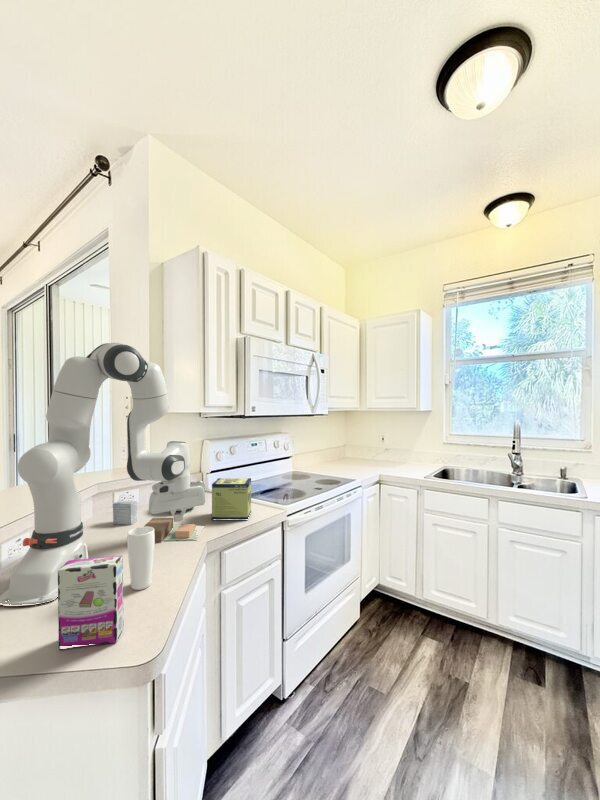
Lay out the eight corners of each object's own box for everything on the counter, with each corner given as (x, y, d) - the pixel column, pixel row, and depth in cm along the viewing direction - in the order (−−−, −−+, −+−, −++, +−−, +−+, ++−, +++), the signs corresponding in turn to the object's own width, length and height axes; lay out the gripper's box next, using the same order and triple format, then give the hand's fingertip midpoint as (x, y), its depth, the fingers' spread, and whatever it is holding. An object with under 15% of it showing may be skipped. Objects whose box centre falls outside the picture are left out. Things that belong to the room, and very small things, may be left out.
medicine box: (137, 521, 145) (137, 500, 145) (131, 525, 141) (131, 503, 141) (119, 520, 146) (119, 500, 146) (112, 524, 141) (112, 503, 141)
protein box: (248, 520, 145) (248, 483, 145) (211, 520, 145) (211, 483, 145) (251, 512, 156) (251, 477, 156) (217, 512, 156) (217, 477, 156)
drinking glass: (147, 576, 100) (147, 524, 100) (159, 584, 95) (159, 529, 95) (123, 586, 94) (122, 531, 94) (134, 595, 90) (134, 537, 90)
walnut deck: (161, 542, 123) (161, 531, 123) (138, 543, 123) (137, 531, 123) (173, 527, 137) (173, 517, 137) (152, 528, 137) (152, 518, 137)
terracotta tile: (175, 531, 126) (175, 538, 126) (189, 531, 126) (189, 537, 126) (181, 524, 133) (181, 530, 133) (194, 524, 133) (194, 530, 133)
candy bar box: (124, 628, 77) (124, 554, 77) (116, 643, 72) (116, 564, 72) (68, 634, 75) (68, 558, 75) (57, 651, 70) (56, 569, 70)
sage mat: (196, 540, 125) (196, 539, 125) (164, 541, 125) (164, 540, 125) (205, 526, 139) (205, 525, 139) (175, 526, 138) (175, 525, 138)
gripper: (202, 478, 139) (202, 513, 139) (147, 486, 127) (147, 524, 127) (207, 481, 134) (208, 517, 134) (151, 489, 122) (151, 529, 122)
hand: (178, 520), depth 131 cm, fingers closed
